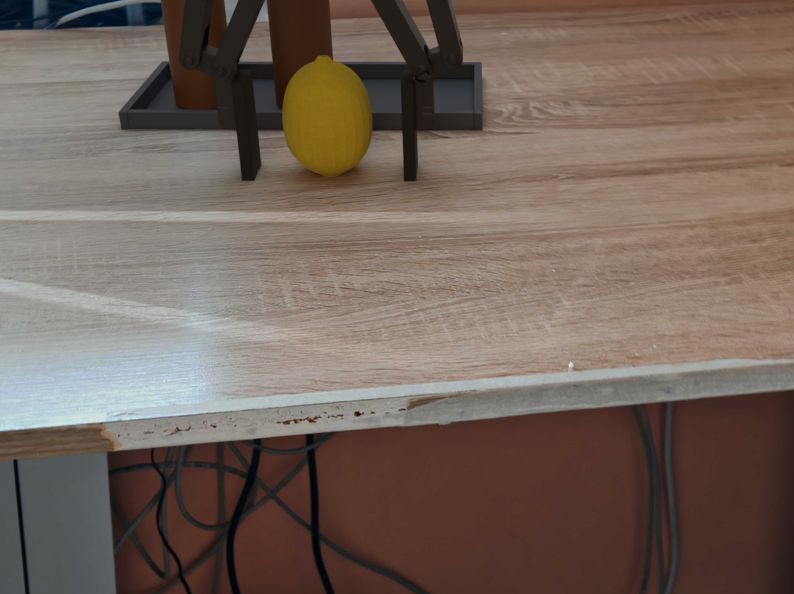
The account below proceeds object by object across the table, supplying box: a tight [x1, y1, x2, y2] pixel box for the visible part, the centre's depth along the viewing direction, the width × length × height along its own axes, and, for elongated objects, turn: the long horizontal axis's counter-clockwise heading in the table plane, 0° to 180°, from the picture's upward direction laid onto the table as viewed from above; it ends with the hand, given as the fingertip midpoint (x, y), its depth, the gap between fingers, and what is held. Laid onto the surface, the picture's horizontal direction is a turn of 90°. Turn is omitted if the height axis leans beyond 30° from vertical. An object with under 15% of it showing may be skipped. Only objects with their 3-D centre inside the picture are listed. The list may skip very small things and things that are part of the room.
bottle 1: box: [160, 0, 228, 110], centre depth 77 cm, size 4×4×13 cm
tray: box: [117, 60, 484, 131], centre depth 80 cm, size 25×12×2 cm, turn 90°
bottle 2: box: [266, 0, 334, 108], centre depth 77 cm, size 4×4×13 cm
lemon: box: [282, 55, 373, 178], centre depth 67 cm, size 6×6×8 cm
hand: (331, 177), depth 69 cm, fingers open, 9 cm apart
